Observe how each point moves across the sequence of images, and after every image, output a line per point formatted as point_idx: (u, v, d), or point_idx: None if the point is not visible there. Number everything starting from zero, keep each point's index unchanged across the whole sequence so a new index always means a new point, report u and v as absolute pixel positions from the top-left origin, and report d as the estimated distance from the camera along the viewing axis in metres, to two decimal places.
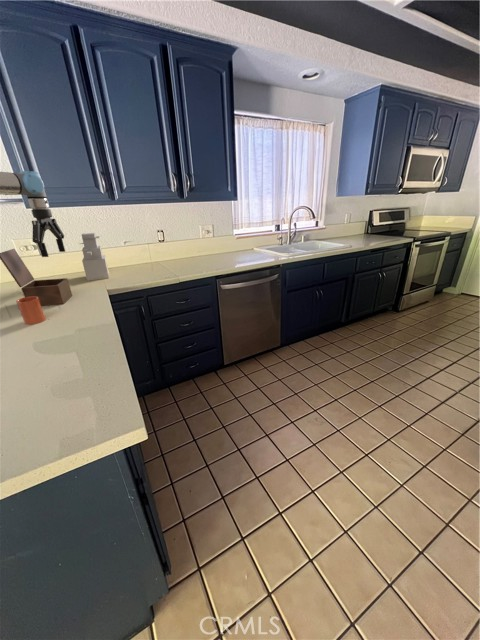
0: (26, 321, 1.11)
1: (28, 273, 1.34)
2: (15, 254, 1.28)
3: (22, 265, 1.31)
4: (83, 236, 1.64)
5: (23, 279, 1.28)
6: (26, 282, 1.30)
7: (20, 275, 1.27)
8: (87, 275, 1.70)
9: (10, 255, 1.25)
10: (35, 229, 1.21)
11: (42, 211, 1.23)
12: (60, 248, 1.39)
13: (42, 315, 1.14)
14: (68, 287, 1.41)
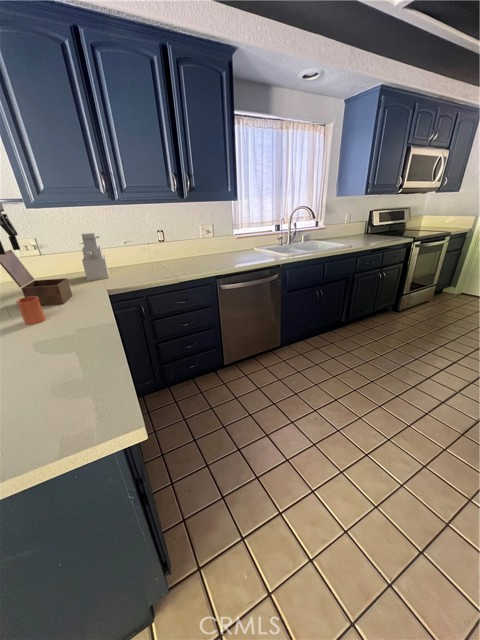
0: (26, 321, 1.11)
1: (27, 273, 1.34)
2: (12, 255, 1.28)
3: (20, 266, 1.31)
4: (83, 236, 1.64)
5: (22, 279, 1.28)
6: (26, 282, 1.30)
7: (19, 275, 1.27)
8: (87, 275, 1.70)
9: (7, 256, 1.25)
10: None
11: None
12: (14, 246, 1.30)
13: (42, 315, 1.14)
14: (68, 287, 1.41)
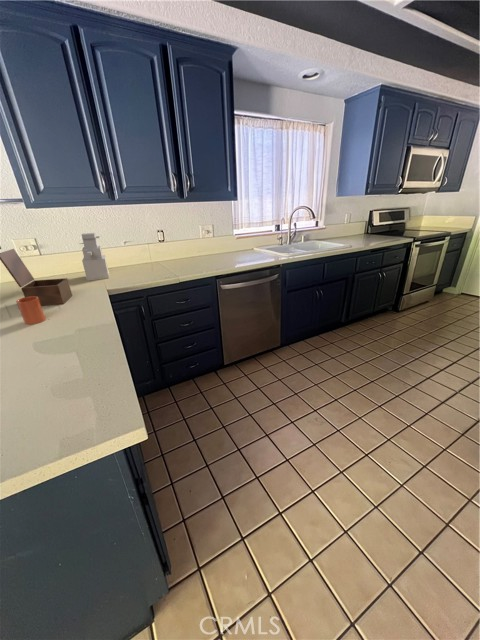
0: (26, 321, 1.11)
1: (28, 273, 1.34)
2: (14, 254, 1.28)
3: (22, 265, 1.31)
4: (83, 236, 1.64)
5: (23, 279, 1.28)
6: (26, 282, 1.30)
7: (20, 275, 1.27)
8: (87, 275, 1.70)
9: (9, 255, 1.25)
10: None
11: None
12: None
13: (42, 315, 1.14)
14: (68, 287, 1.41)
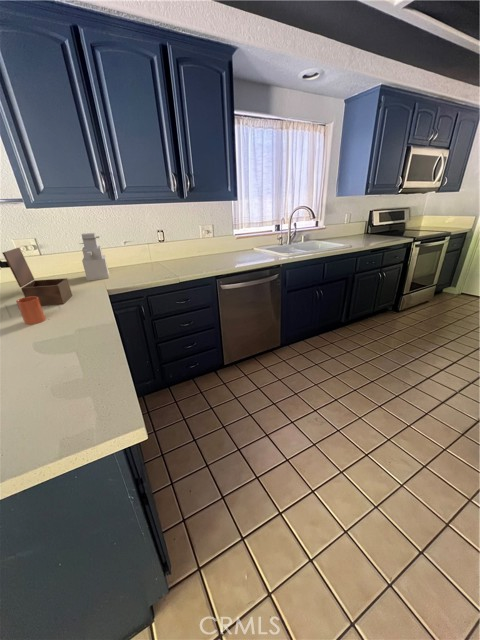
0: (26, 321, 1.11)
1: (29, 272, 1.34)
2: (19, 253, 1.29)
3: (24, 265, 1.31)
4: (83, 236, 1.64)
5: (24, 279, 1.28)
6: (26, 282, 1.30)
7: (21, 275, 1.27)
8: (87, 275, 1.70)
9: (14, 254, 1.25)
10: None
11: None
12: None
13: (42, 315, 1.14)
14: (68, 287, 1.41)
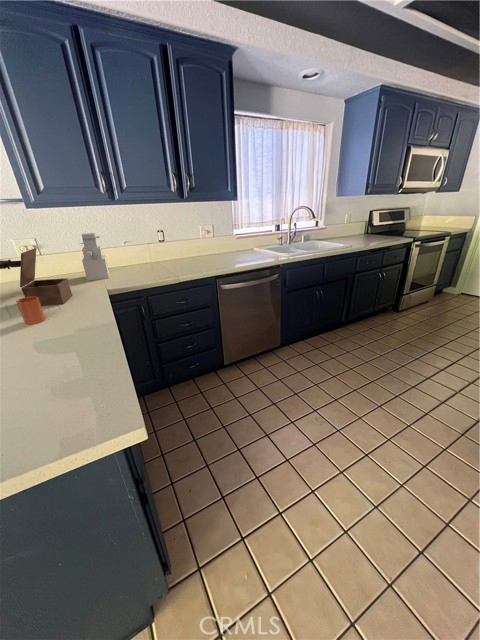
0: (26, 321, 1.11)
1: (33, 273, 1.34)
2: (33, 254, 1.30)
3: (33, 265, 1.32)
4: (83, 236, 1.64)
5: (26, 279, 1.29)
6: (27, 282, 1.30)
7: (26, 275, 1.28)
8: (87, 275, 1.70)
9: (30, 255, 1.27)
10: None
11: None
12: None
13: (42, 315, 1.14)
14: (68, 287, 1.41)
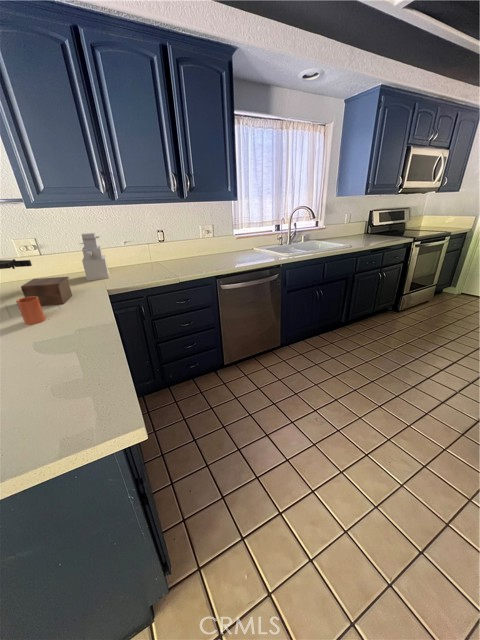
0: (26, 321, 1.11)
1: None
2: None
3: None
4: (83, 236, 1.64)
5: None
6: None
7: None
8: (87, 275, 1.70)
9: None
10: None
11: None
12: None
13: (42, 315, 1.14)
14: (68, 287, 1.41)
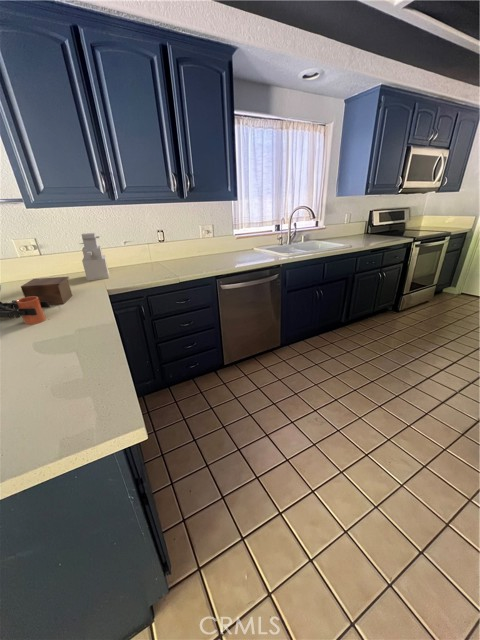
0: (26, 321, 1.11)
1: None
2: None
3: None
4: (83, 236, 1.64)
5: None
6: None
7: None
8: (87, 275, 1.70)
9: None
10: None
11: None
12: None
13: (42, 315, 1.14)
14: (68, 287, 1.41)
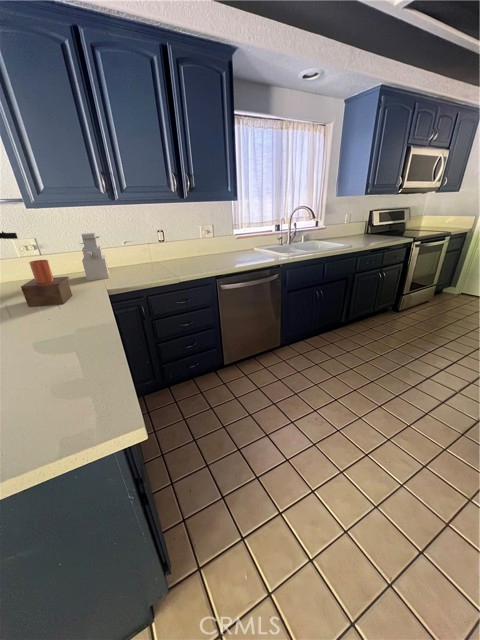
0: (37, 280, 1.29)
1: None
2: None
3: None
4: (83, 236, 1.64)
5: None
6: None
7: None
8: (87, 275, 1.70)
9: None
10: None
11: None
12: None
13: (51, 276, 1.32)
14: (68, 287, 1.41)
